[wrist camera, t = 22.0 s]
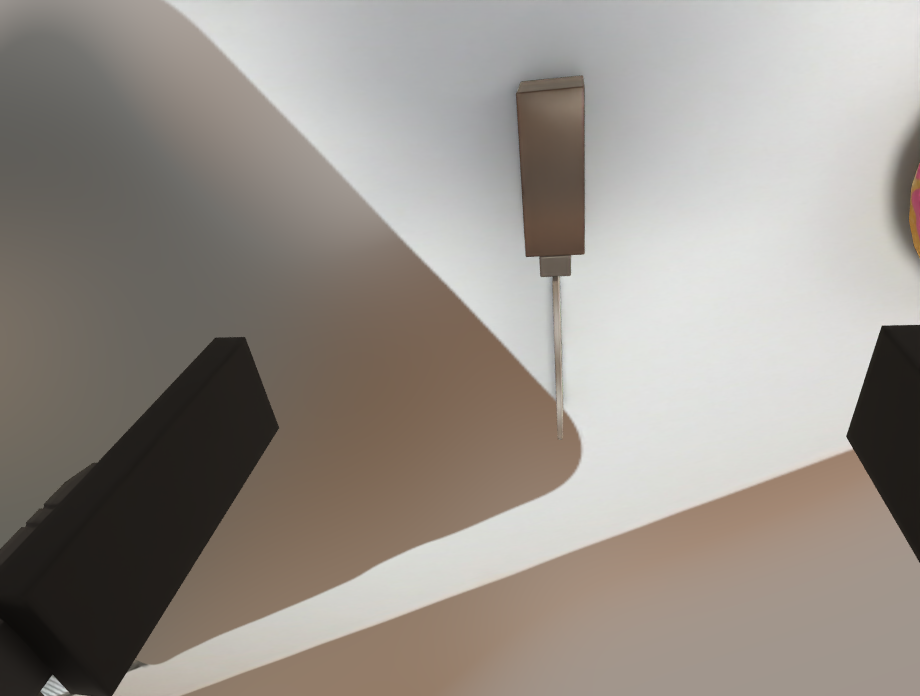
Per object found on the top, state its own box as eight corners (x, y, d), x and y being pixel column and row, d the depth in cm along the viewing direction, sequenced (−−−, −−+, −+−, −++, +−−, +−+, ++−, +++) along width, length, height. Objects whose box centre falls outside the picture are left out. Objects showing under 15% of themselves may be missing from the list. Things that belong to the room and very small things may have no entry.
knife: (520, 81, 28) (514, 94, 25) (583, 74, 28) (584, 87, 25) (538, 404, 39) (536, 439, 36) (583, 404, 39) (584, 440, 36)
